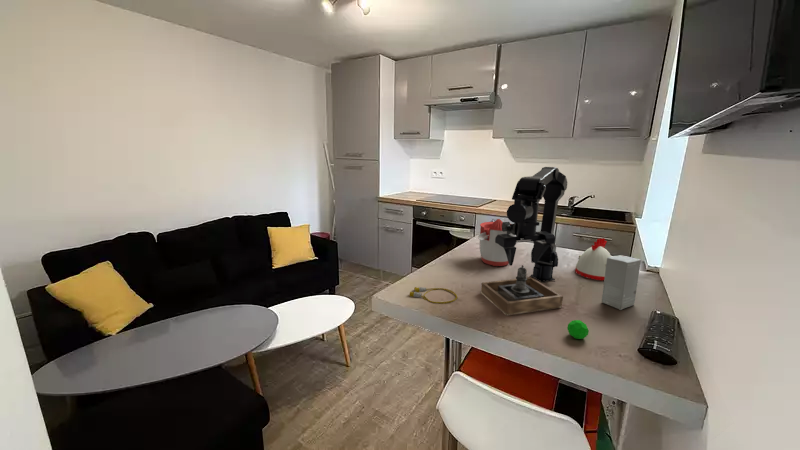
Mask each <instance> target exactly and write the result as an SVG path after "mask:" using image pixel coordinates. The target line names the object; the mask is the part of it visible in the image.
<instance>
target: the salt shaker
mask: <svg viewBox="0 0 800 450" xmlns="http://www.w3.org/2000/svg"><path fill="white" fill-rule="evenodd" d="M527 272H528V271H527V268H525V267H524V265H521V267H519V268H517V274H516V276H515V279H517V280H516V285H514V286H512V287H511V289H512V292H513V294H514V295H515V296H516V297H522V296H527V295H528V292H529V291H530V290H529V288H527V287H526V280H527V278H528V277H527Z"/></svg>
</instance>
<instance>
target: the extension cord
mask: <svg viewBox="0 0 800 450" xmlns="http://www.w3.org/2000/svg"><path fill="white" fill-rule="evenodd" d="M413 288H414V290H413V291H414V292H413V291H410V292H409V297H413V298H423V300H424V301H428V302H430V303H432V304H440V305H441V304H443V305H444V304H445V305H446V304H451V303H453V302H455V301H456V300H457V299H458V295H457V294H456V293H455V292H454V291H453V290H450V289H448V288H444V287H441V288H440V287H435V288H427V287H420V286H419V287H417V286H414V287H413ZM427 290H428V291H427ZM436 290H443V291H446V292H449V293H451V294H452V295H454V297H455V298H454V299H452V300H448V301H433V300H431V299H428V298H427V296H426V294H427V293H429V292H431V291H436ZM423 292H425V293H424V294H422V293H423Z"/></svg>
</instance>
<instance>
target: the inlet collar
mask: <svg viewBox="0 0 800 450" xmlns="http://www.w3.org/2000/svg"><path fill="white" fill-rule="evenodd" d="M514 285H516V284H510V285H501V286H498V294H500V295H501V296H502V297H503V298H505V299H506V300H507V301H508V302H510V301H518V300H526V299H533V298H541V297H544V295H542V294H541V293H539V292H538V291H536V290H535V289H533V288H532V287H530V286H529V285H527V284H526V287H527V288H529V290H530V291H529V292H528V295H527V296H522V297H516V296H515V295H513V292H512V289H511V287H512V286H514Z"/></svg>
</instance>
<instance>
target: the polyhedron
mask: <svg viewBox="0 0 800 450" xmlns="http://www.w3.org/2000/svg"><path fill="white" fill-rule="evenodd" d="M566 329H567V332H568V334H569V335H570V336H571V337H573V338H574V339H575V340H584V339H585V338H587V336H589V333H590V332H589V328H588V326H587V323H585V322H583V321H582V320H580V319H574V320H571V321H570V322H569V323H568V324H567V327H566Z"/></svg>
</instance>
